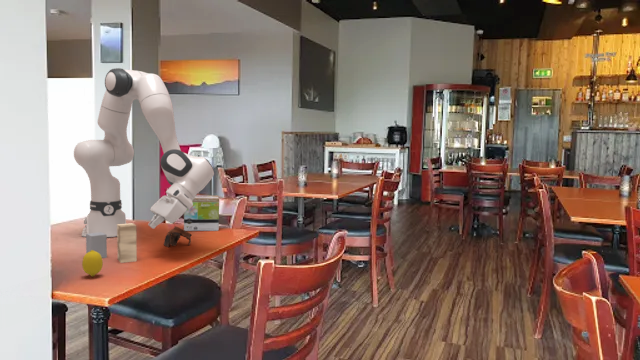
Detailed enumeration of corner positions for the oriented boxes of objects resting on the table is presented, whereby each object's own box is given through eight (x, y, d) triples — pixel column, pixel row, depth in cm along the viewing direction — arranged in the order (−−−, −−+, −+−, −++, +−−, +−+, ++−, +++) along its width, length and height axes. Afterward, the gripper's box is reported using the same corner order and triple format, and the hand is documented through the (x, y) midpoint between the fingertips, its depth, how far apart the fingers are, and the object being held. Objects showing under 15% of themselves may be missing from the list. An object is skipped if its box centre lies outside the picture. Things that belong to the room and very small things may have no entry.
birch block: (117, 259, 174) (117, 224, 172) (133, 257, 176) (133, 223, 175) (120, 262, 169) (120, 226, 168) (137, 261, 172) (136, 225, 171)
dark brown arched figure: (163, 244, 200) (174, 225, 202) (185, 255, 201) (196, 236, 202) (157, 242, 189) (169, 222, 190) (181, 254, 189) (192, 234, 191)
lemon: (86, 274, 156) (85, 247, 155) (105, 274, 156) (105, 248, 156) (79, 279, 150) (79, 252, 150) (99, 279, 151) (98, 252, 150)
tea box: (183, 231, 223) (183, 197, 221) (184, 227, 232) (184, 194, 231) (219, 231, 226) (219, 197, 225) (218, 226, 236) (218, 194, 235)
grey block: (86, 257, 176) (86, 233, 176) (101, 254, 180) (101, 232, 179) (91, 259, 173) (91, 236, 172) (106, 257, 176) (106, 234, 175)
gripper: (163, 187, 188) (136, 216, 183) (181, 193, 170) (151, 225, 166) (175, 199, 190) (149, 227, 186) (194, 206, 173) (165, 237, 169)
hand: (150, 226), depth 176 cm, fingers closed
